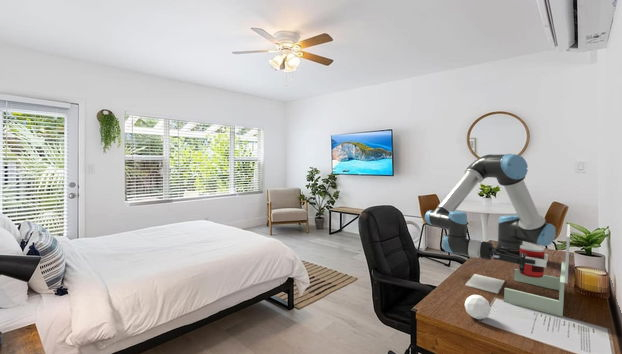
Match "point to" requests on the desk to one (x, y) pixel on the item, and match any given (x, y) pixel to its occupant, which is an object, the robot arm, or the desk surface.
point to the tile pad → (485, 283)
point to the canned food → (533, 253)
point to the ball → (477, 306)
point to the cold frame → (545, 281)
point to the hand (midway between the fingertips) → (547, 260)
